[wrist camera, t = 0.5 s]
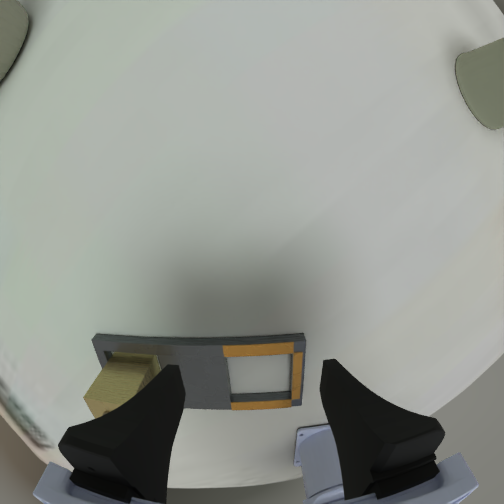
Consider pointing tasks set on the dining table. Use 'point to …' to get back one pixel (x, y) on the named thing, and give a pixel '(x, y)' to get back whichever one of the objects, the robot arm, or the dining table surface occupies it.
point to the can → (483, 82)
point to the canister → (11, 32)
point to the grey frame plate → (215, 366)
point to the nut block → (120, 381)
